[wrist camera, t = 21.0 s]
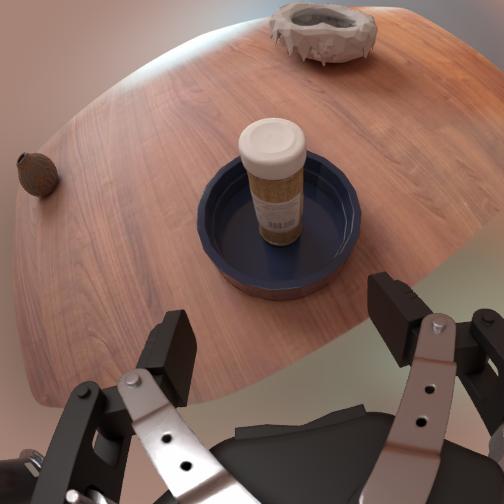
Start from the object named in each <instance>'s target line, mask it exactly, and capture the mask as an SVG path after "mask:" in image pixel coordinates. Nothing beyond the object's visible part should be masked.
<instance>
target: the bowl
mask: <svg viewBox="0 0 504 504" xmlns="http://www.w3.org/2000/svg"><path fill="white" fill-rule="evenodd" d="M377 30H378V29H377V26H376V24H375V20H374V17H373V16H372V15H366V14H364V13H362V12H361V11H353V10H351V9H349V8H346V7H344V6H340V5H329V4H326V5H324V4H318V3H317V4H310V3H307V2H297V3H292V4H288V5H285V6H282V7H280V8H279V9H278V10H277V11H276V12H275V14H274V15H273V17H272V19H271V20H270V37H271V38H272V37H273V38H274V43H275V46H276V43H277V40H278V38H279V41H280V43H281V45H282V46H287V52H288V54H289V56H291V55H292V51H295V52H297V53H299V54H301V57H302V59H303V61H305V59H306V58H308V59H313V60H317V61H321V62H322V64H323V66H325V62H330V63H344V62H347V61H350V60H353V59H356V58H359V57H362V56H363V57H364V58H366V57H367V55H368V53H369V51H370V48H371V47H372V50H373V45H374V44H375V39H376V34H377Z"/></svg>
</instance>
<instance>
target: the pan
mask: <svg viewBox="0 0 504 504" xmlns="http://www.w3.org/2000/svg"><path fill="white" fill-rule="evenodd" d="M360 221H361V209H360V205H359V201H358V198H357V194H356V191H355V189H354V188H353V186H352V185H351V183H350V182H349V180H348V179H347V177H346V176H345V174H344V173H343V172H342V171H341V170H340V169H338V168H337V167H336V166H335V165H333V164H332V163H331V162H330V161H328V160H327V159H325V158H324V157H321V156H319V155H317V154H314V153H312V152H310V151H307V150H306V160H305V163H304V166H303V212H302V217H301V223H302V231H301V234H300V236H299V237H298V238H297V240H295V241H294V242H293V243H291V244H289V245H286V246H275V245H272V244H270V243H268V242H266V241H265V240H264V239H263V237H262V236H261V234H260V231H259V221H258V219H257V215H256V211H255V207H254V202H253V198H252V194H251V190H250V184H249V177H248V173H247V170H246V168H245V167H244V165H243V163H242V159H241V155H240V156H239V157H237V158H235V159H234V160H232V161H231V162H229V163H228V164H226V165H225V166H223V167H222V168H221V169H220V170H219V171H218V172H217V173H216V174H215V176H214V177H213V178H212V179H211V180H210V182H209V183H208V184H207V185H206V187H205V190H204V192H203V195H202V197H201V200H200V202H199V205H198V213H197V230H198V233H199V236H200V240H201V243H202V246H203V249H204V251H205V252H206V254H207V255H208V257H209V258H210V259H211V261H212V262H213V263H214V265H215V266H216V267H217V268H218V270H219V271H220V272H221V273H222V275H223V276H224V277H225V278H226V280H227V281H228V282H229V283H231V284H232V285H234V286H236V287H237V288H239V289H240V290H242V291H244V292H245V293H247V294H249V295H252V296H256V297H260V298H265V299H269V300H286V299H297V298H301V297H304V296H306V295H308V294H311V293H313V292H315V291H317V290H320V289H322V288H323V287H325V286H326V285H327V284H328V283H329V282H330V281H331V280H332V279H333V278H334V277H335V276H337V275H338V274H339V273H340V272H341V270H342V268H343V266H344V264H345V262H346V261H347V259H348V257H349V255H350V253H351V251H352V249H353V247H354V245H355V243H356V241H357V239H358V237H359V231H360Z"/></svg>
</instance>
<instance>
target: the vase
mask: <svg viewBox="0 0 504 504" xmlns="http://www.w3.org/2000/svg"><path fill="white" fill-rule="evenodd" d="M16 164H17V167H18V173H19V180H20V183H21V185H22V187H23V188H24V189H25V190H26V191H27V192H28V193H29V194H31V195H33V196H37V197H42V196H45V195H47V194H49V193H50V192H51V191H52V190H53V189H54V187H55V185H56V183H57V176H58V175H57V169H56V167H55V165H54V163H53V162H52V161H51V160H50V159H49V158H48V157H47V156H45V155H43V154H39V153H34V154H29V153H23V154H21V155H20V157H19V158H18V159H17V162H16Z"/></svg>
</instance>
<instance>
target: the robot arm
mask: <svg viewBox="0 0 504 504" xmlns="http://www.w3.org/2000/svg"><path fill="white" fill-rule="evenodd" d="M367 308H368V313H369V316H370V319H371V320H372V322H373V324H374V325H375V327H376V328H377V330H378V332H379V333H380V335H381V337H382V338H383V340H384V342H385V343H386V345H387V346H388V348H389V350H390V352H391V353H392V355H393V357H394V358H395V360H396V362H397V364H398V365H399V367H400V368H401V367H404V366H407V365H410V367H411V370H410V373H409V377H408V380H407V383H406V387H405V390H404V393H403V396H402V399H401V402H400V405H399V408H398V411H397V414H396V416H394V415H391V414H387V413H382V412H366V411H365V408H364V405H363V404H361V405H358V406H354V407H350V408H347V409H343V410H339V411H335V412H332V413H329V414H327V415H325V416H323V417H321V418H319V419H316V420H314V421H312V422H309V423H307V424H304V425H301V426H288V425H270V424H265V425H257V426H248V427H238V428H235V437H232V438H229V439H227V440H224V441H222V442H220V443H219V444H217V445H215V446H214V447H212V448H211V449H209V450H208V449H207V448H206V447H205V446H204V444H203V443H202V442H201V441H200V440H199V438H198V437H197V436H196V435H195V433H194V432H193V431H192V430H191V429H190V427H189V426H188V425H187V424H186V422H185V421H184V420H183V418H182V417H181V416H180V414H179V413H178V412H177V410H176V408H177V407H186V406H187V400H188V395H189V389H190V384H191V378H192V373H193V368H194V362H195V357H196V352H197V342H196V338H195V335H194V332H193V330H192V327H191V325H190V322H189V319H188V317H187V314H186V312H185V310H183V309H182V310H175V311H168V312H166V314H165V317H164V319H163V322H162V324H157V325H156V326H155V328H154V329H153V330H152V331H151V332H150V334H149V337H148V339H147V341H146V344H145V348H144V349H143V351H142V353H141V356H140V358H139V361H138V363H137V366H136V368H135V369H133V370H130V371H128V372H126V373H125V374H124V375H123V376H122V377H121V378H120V379H119V381H118V385H117V386H113V387H109V388H106V389H102V390H101V388H100V387H99V386H98V384H97V383H96V382H93V381H86V382H83V383H81V384H79V385H78V386H77V387H75V389H74V390H73V391H72V393H71V395H70V397H69V400H68V402H67V404H66V406H65V409H64V411H63V413H62V415H61V418H60V420H59V423H58V425H57V427H56V430H55V433H54V435H53V437H52V440H51V443H50V445H49V448H48V451H47V453H46V456H45V459H44V461H43V464H41V463H40V462H39V461H37V460H36V459H35V458H33V457H30V456H27V457H23V458H17V459H9V460H0V504H119V501H120V495H121V489H122V483H123V478H124V472H125V467H126V462H127V457H128V452H129V447H130V442H131V438H132V435H137V437H138V439H139V440H140V442H141V444H142V446H143V448H144V449H145V451H146V453H147V455H148V456H149V458H150V460H151V462H152V463H153V465H154V466H155V468H156V470H157V471H158V473H159V475H160V476H161V478H162V479H163V481H164V482H165V484H166V485H167V487H168V488H169V489H168V490H167V491H166V492H165V493H164V494H163V495H162V496H161V497H160V498H159V499H157V501H155V502H154V503H153V504H504V319H503V318H502V317H501V316H500V315H499V314H498V313H497V312H496V311H494V310H491V309H479V310H477V311H476V312H475V313H474V314H473V317H472V321H471V322H462V323H455V322H454V320H453V319H452V318H451V317H449V316H448V315H445V314H441V313H433V312H432V311H431V310H430V309H429V307H428V306H427V305H426V304H425V303H424V302H423V301H422V300H421V299H420V298H419V297H418V295H417V294H416V293H415V292H413V290H412V289H411V288H410V287H409V286H408V285H407V284H405V283H403V282H401V281H399V280H395V281H394V280H393V279H392V278H391V277H390V276H389V275H388V274H387V273H386V272H380V273H376V274H372V275H369V276H368V297H367ZM489 358H490V359H491V361H492V362H493V363H494V365H495V366H496V367H497V369H498V376H497V375H496V373H495V372H494V370H493V369H492V367H491V366H490V365H489V363H488V360H489ZM455 376H458V377H459V379H460V380H461V382H462V384H463V386H464V387H465V389H466V391H467V393H468V394H469V396H470V398H471V400H472V401H473V403H474V405H475V407H476V408H477V411H478V412H479V414H480V416H481V418H482V420H483V422H484V424H485V426H486V427H487V430H488V432H489V434H490V436H491V439H490V442H489V454H488V457H487V456H484V455H482V454H479V453H477V452H474V451H472V450H469V449H467V448H464V447H462V446H460V445H457V444H455V443H453V442H450V441H448V440H446V439H444V437H445V433H446V428H447V424H448V419H449V414H450V409H451V403H452V397H453V391H454V384H455ZM96 430H97V431H98V435H97V439H96V442H95V446H94V449H93V447H92V441H93V438H94V435H95V432H96Z"/></svg>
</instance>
